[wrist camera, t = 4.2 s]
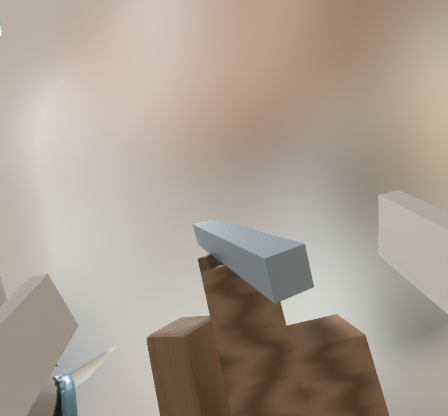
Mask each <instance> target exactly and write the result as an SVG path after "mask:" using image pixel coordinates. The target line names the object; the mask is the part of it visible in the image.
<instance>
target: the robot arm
mask: <svg viewBox="0 0 448 416" xmlns="http://www.w3.org/2000/svg"><path fill="white" fill-rule="evenodd" d="M0 33H1V24H0ZM379 256H380V257H381V258H383V259H384V260H385V261H386V262H387V263H389V264H390V265H391V266H392V267H393V268H394V269H396V270H397V271H398V272H399V273H400V274H402V275H403V276H404V277H405V278H406V279H407V280H408V281H410V282H411V283H412V284H413V285H414V286H415V287H417V288H418V289H419V290H420V291H421V292H422V293H424V294H425V295H426V296H427V297H428V298H430V299H431V300H432V301H433V302H434V303H435V304H437V305H438V306H439V307H440V308H441V309H442V310H444V311H445V312H446V313H447V314H448V211H446V210H443V209H441V208H439V207H437V206H434V205H432V204H430V203H427V202H425V201H423V200H420V199H418V198H416V197H413V196H411V195H409V194H407V193H404V192H402V191H400V190H397V191H392V192H388V193H384V194H380V195H379ZM77 327H78V324H77V322H76V320H75V319H74V317H73V315H72V314H71V312H70V310H69V309H68V307H67V305H66V304H65V303H64V300H63V299H62V297H61V295H60V294H59V292H58V290H57V289H56V287H55V285H54V284H53V282H52V280H51V279H50V277H49V275H48V274H45V275H41V276H37V277H33V278H29V279H28V280H27V281H26V282H25V283H24V284H23V285H22V286H21V287H20V288H19V289H18V290H17V291H16V292H14V293H13V294H12V295H11V297H10V298H8V299H7V298H6V295H5V291H4V288H3V285H2V282H1V278H0V416H77V404H76V393H75V384H74V380H73V377H72V376H71V375H69V374H65V375H62V376H59V375H57V376H54V377H52V376H51V372H52V371H53V369H54V367H55V365H56V364H57V362H58V360H59V358H60V357H61V355H62V353H63V352H64V350H65V348H66V346H67V345H68V343H69V341H70V339H71V338H72V336H73V334H74V332H75V331H76V329H77Z"/></svg>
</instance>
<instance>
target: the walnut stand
mask: <svg viewBox="0 0 448 416" xmlns="http://www.w3.org/2000/svg"><path fill="white" fill-rule="evenodd" d="M198 262H199V267H200V271H201V276H202V281H203V285H204V290H205V294H206V299H207V304H208V308H209V313H210V318H211V322H212V327H213V331H214V336H215V341H216V345H217V350H218V354H219V359H220V364H221V368H222V373H223V378H224V382H225V387H226V391H227V396H228V401H229V405H230V410H231V414H232V416H389V413H388V410H387V406H386V403H385V400H384V397H383V393H382V389H381V386H380V383H379V380H378V376H377V373H376V369H375V366H374V363H373V359H372V356H371V353H370V349H369V346H368V343H367V339H366V336H365V334H364V333H362V332H361V331H359V330H358V329H357V328H355V327H354V326H352V325H351V324H350V323H348V322H347V321H346V320H344V319H343V318H341V317H340V316H339V315H337V314H336V315H331V316H328V317H323V318H318V319H314V320H310V321H305V322H301V323H297V324H292V325H288V326H286V322H285V318H284V315H283V311H282V307H281V303H280V302H278V303H273V302H272V301H271V300H269V299H268V298H267V297H266V296H264V295H263V294H262V293H260V292H259V291H258V290H257V289H255V288H254V287H253V286H251V285H250V284H249V283H247V282H246V281H245V280H244V279H242V278H241V277H240V276H238V275H237V274H236V273H235V272H233V271H232V270H231V269H229V268H228V267H227V266H225V265H224V264H223V263H222V262H220V261H219V260H218V259H216V258H215V257H214V256H213V255H211V254H208V255H206V256H203V257H201V258H199V259H198Z"/></svg>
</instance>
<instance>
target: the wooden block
mask: <svg viewBox="0 0 448 416" xmlns="http://www.w3.org/2000/svg"><path fill="white" fill-rule="evenodd" d="M147 345H148V351H149V356H150V362H151V367H152V372H153V378H154V384H155V389H156V395H157V400H158V406H159V411H160V416H232V414H231V410H230V405H229V401H228V396H227V391H226V387H225V382H224V378H223V373H222V368H221V364H220V359H219V354H218V350H217V345H216V341H215V336H214V331H213V327H212V322H211V318H210V316H197V317H184V318H180V319H178V320H176V321H174V322H172V323H170V324H169V325H167V326H165V327H163V328H161V329H159V330H158V331H156V332H154V333H152V334H151V335H149V336H148V338H147Z"/></svg>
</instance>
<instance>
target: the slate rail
mask: <svg viewBox="0 0 448 416" xmlns="http://www.w3.org/2000/svg"><path fill="white" fill-rule="evenodd" d="M193 227H194V230H195V234H196V238H197V242H198V244H199V245H200V246H201V247H203V248H204V249H205V250H206V251H207V252H209V253H210V254H211V255H213V256H214V257H215V258H216V259H218V260H219V261H220V262H222V263H223V264H224V265H225V266H227V267H228V268H229V269H231V270H232V271H233V272H235V273H236V274H237V275H238V276H240V277H241V278H242V279H244V280H245V281H246V282H247V283H249V284H250V285H251V286H253V287H254V288H255V289H257V290H258V291H259V292H260V293H262V294H263V295H264V296H266V297H267V298H268V299H269V300H271V301H272V302H273V303H278V302H280V301H282V300H285V299H287V298H289V297H292V296H294V295H296V294H298V293H301V292H303V291H306V290H308V289H310V288H313V287H314V285H313V280H312V276H311V271H310V266H309V261H308V257H307V252H306V247H305V244H303V243H299V242H296V241H292V240H288V239H285V238H281V237H277V236H273V235H270V234H266V233H263V232H259V231H255V230H252V229H248V228H244V227H241V226H237V225H233V224H229V223H226V222H222V221H219V220H215V219H210V220H207V221H203V222H200V223H196V224H193Z"/></svg>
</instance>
